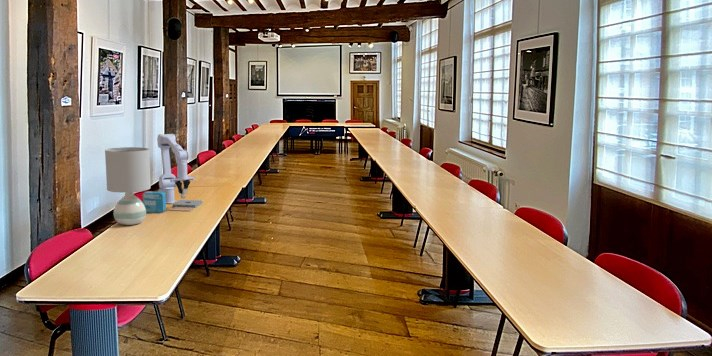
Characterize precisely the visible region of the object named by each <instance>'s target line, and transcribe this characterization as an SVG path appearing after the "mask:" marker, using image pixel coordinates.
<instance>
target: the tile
mask: <svg viewBox="0 0 712 356" xmlns="http://www.w3.org/2000/svg"><path fill="white" fill-rule="evenodd" d="M195 209H196V208H190V207H175V208H173V207H172V209H170V212H192V211H193V210H195Z"/></svg>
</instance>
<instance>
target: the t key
mask: <svg viewBox="0 0 712 356" xmlns="http://www.w3.org/2000/svg"><path fill="white" fill-rule="evenodd" d="M188 189H189V188H188ZM188 189H186V188H184V186H182V193H180V199H186V194H188ZM177 191H178V193H179V190H178V189H177Z"/></svg>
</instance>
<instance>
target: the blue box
mask: <svg viewBox="0 0 712 356" xmlns="http://www.w3.org/2000/svg"><path fill="white" fill-rule="evenodd" d="M142 202H143V204H144V206H145V208H146V214H147V213H150V214H152V213H153V214H162V213H164V212H165V211H166V210H167V203H166V194H165V193H164V192H158V191H152V190H151V191H149V190H146V192H144V193H142Z"/></svg>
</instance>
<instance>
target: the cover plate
mask: <svg viewBox="0 0 712 356" xmlns="http://www.w3.org/2000/svg"><path fill="white" fill-rule="evenodd" d="M201 205H203V199H201V200H200V199H199V200H198V199H197V200H196V199H179V200H178V201H176V202H174V203H173V204H172V209H173V208H175V207H190V208H195V209H196V208H198V207H199V206H201Z"/></svg>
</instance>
